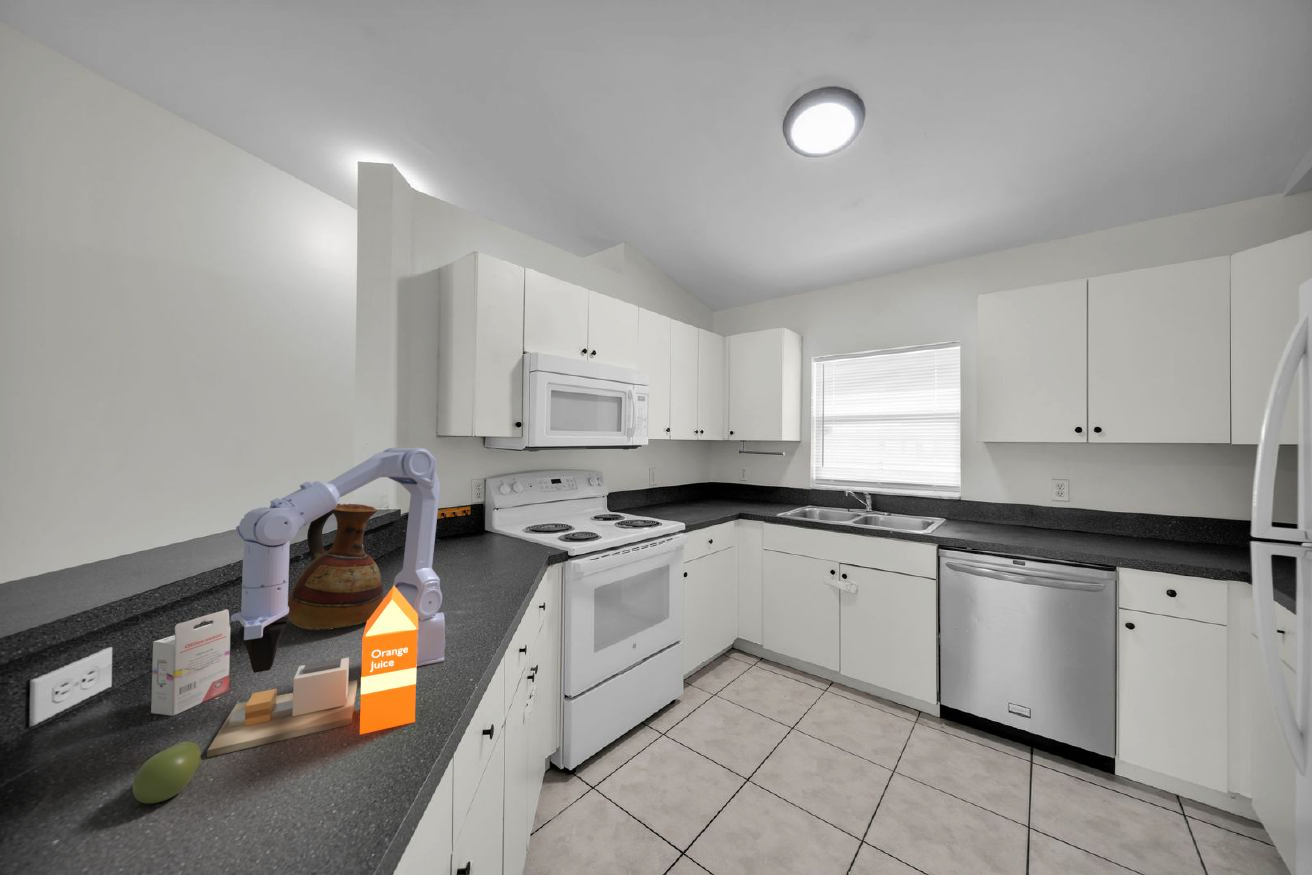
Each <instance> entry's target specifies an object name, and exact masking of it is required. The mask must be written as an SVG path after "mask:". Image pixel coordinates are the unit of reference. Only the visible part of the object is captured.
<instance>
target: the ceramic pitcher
mask: <svg viewBox="0 0 1312 875" xmlns="http://www.w3.org/2000/svg"><path fill="white" fill-rule="evenodd" d="M376 513H378V509H376V508H375V507H373V506H370V505H366V504H358V503H357V504H356V503H348V504H346V503H337V506H336V508H335V509H333V510H331V511H329V512H328V513H326V514H324V515H323V516H321V517H319V518H317V519H316V520H314V521H312V522H310V523H309V525H308V529H307V535H306V538H307V545H308V549H309V554H310V562H309V564H308V565H307V566H306V568H304V569H303V571H302V572H301V574H300V575H299V577H298V578H297V580H296V581H295V583H294V585H293V587H292V589H291V592H290V595H289V596H288V607H289V613H288V614H287V617H288V618H289V622H291V623H292V624H293V625H294V626H296V627H298V628H300V629H304V630H308V631H316V630H315V629H322V630H323V629H328V630H331V628H337V629H340V628H339V627H342V628H346V627H345V626H349V627H352V626H351V625H353V626H358V625H361V624H363V623H367V620H369V618H370V617H371V616H372V614H373V613H374V612H375V610H376V609H377V608H378V606H379V605H380V604H381V602H382V601H383V600H384V586H383V585H384V584H383V580H382V576H381V571H380V569H379V566H378V564H377V563H376V561H375V560H374V559H373V557H371V556H370V555H369V554H367V553H366V552H365V549H364V545H363V543H364V542H363V541H364V534H365V533H366V532H365V531H366V526H367V524H368V522H369V520H370V518H372V517H373V516H374V515H375V514H376ZM332 515H334V517H335V518H336V533H335V538H334V542H333V543H332V546H331V547H330V548H329V550H328V551H325V548H324V544H323V529H324V526H325V524H326V523H327V521H328V519H329V518H330V517H331V516H332Z"/></svg>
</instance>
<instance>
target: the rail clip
mask: <svg viewBox="0 0 1312 875" xmlns="http://www.w3.org/2000/svg"><path fill="white" fill-rule="evenodd" d="M277 693H278V688H273V689H268V690H262V691H257V692H254V693H252V694H251V696H250V697H249V700H247V701H248V703H247V705H246V706H245V726H249V725H254V724H258V723H263V722H268V721H270V720H271V711H272V709H273V707H274V705H275V704H276V697H277V696H278V695H277Z"/></svg>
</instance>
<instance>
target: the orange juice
mask: <svg viewBox="0 0 1312 875" xmlns="http://www.w3.org/2000/svg"><path fill="white" fill-rule="evenodd" d="M392 587H393V588H392ZM392 587H391V589H390V590H389V592H388V593H387V594H386V596H385V597H383V600H382V602H381V604H380V605H379V606H378V608H377V609H376V610H375V612H374V613H373V614H372V616H371V617H370V618H369V620H367V621H366V622H365V623H366V624H365V626H364V632H363V634H362V638H361V639H362V642H361V644H362V648H361V649H362V650H361V675H360V676H361V677H360V711H359V712H360V715H359V717H360V718H359V719H360V720H359V735H363V734H369V733H373V732H377V731H381V730H386V729H390V728H394V727H399V726H403V725H406V724H411V723H416V697H417V696H416V693H417V692H416V690H417V689H416V688H417V687H416V686H417V667H418V666H416V658H417V630H418V614H417V613H416V612H415V610H414V609H413V608H412V607H411V605H410V604H409V603H408V602H407V601H406V599H405V598H404V597H403V596H402V595H401V593H400V592H399V591H398V590H397V589H396V587H395V586H394V584H393V585H392Z"/></svg>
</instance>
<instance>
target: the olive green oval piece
mask: <svg viewBox="0 0 1312 875" xmlns="http://www.w3.org/2000/svg"><path fill="white" fill-rule="evenodd" d="M202 761H203V760H202V758H201V748H200V747H199V745H198V744H197V743H195V742H193V741H192V742H191V741H182V742H177V743H176V744H173V745H171V746H170V747H168V748H166V749H164V750H161V751H160V752H158V753H156V754H154V755H152V756H151V757H149V758H148V759H147V760H146V761H145V762H144V763H143V764H142V765H141V766H140V767H139V769H138V771H137V773H136V774H135V777H134V779H133V783H132V793H133V796H134V798H135V799H136V800H137V801H139V802H140V803H143V804H157V803H160V802H165V801H167V800H169V799H171V798H173V797H175V796H177V794H179V793H180V792H181V791H182V790H184V789H185V788H186V787H187V786H188V785H189V783H190V782H191V781H192V779H193V777H194V775H195V773H196V772H197V770H198V768H199V767H201V765H202Z"/></svg>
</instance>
